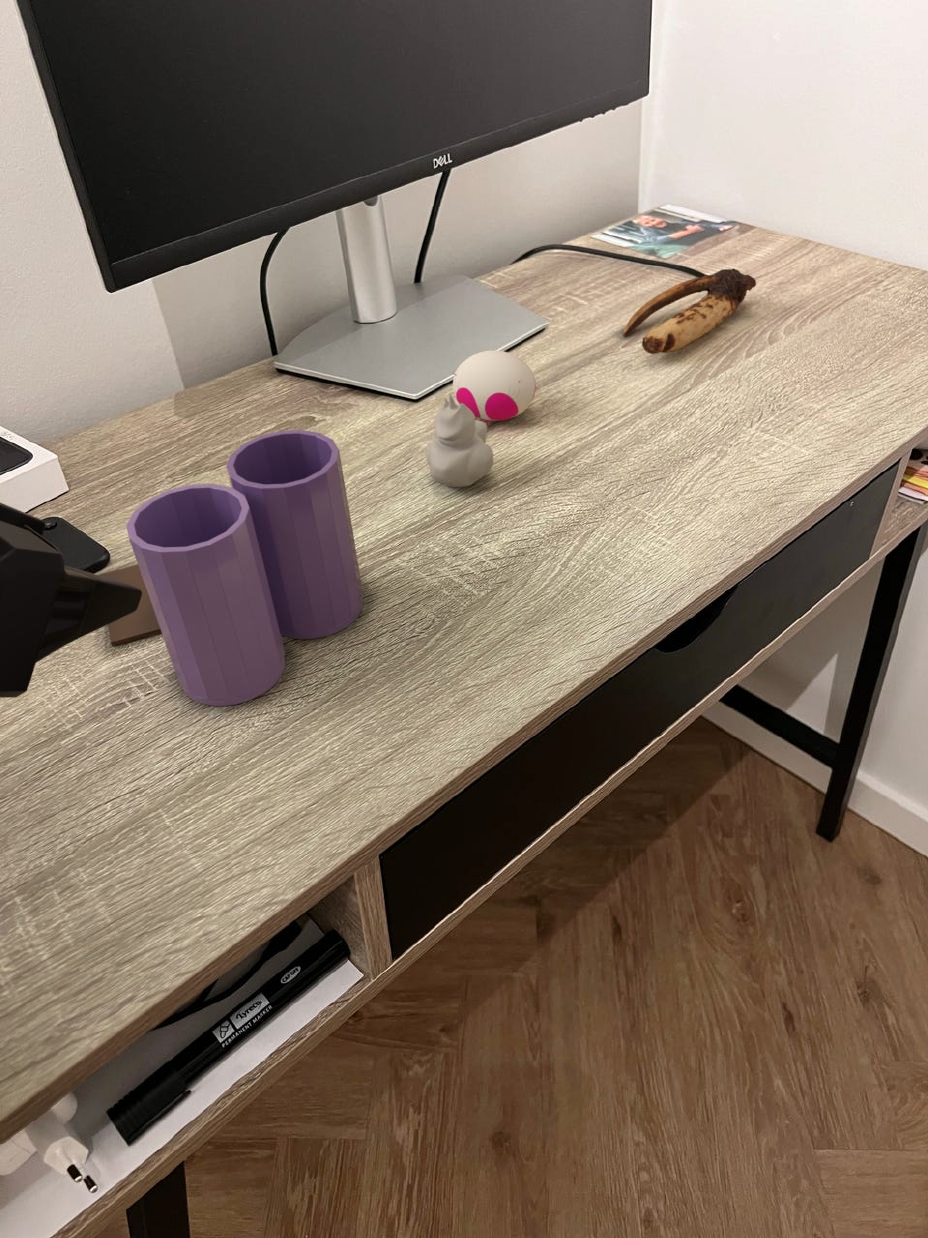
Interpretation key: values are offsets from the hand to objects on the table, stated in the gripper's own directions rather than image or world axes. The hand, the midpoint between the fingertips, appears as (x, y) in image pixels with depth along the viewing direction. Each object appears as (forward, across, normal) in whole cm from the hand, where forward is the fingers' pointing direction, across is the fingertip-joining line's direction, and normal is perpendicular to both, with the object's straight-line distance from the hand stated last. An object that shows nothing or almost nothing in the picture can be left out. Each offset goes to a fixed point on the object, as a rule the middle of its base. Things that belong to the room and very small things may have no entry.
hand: (87, 563), depth 49 cm
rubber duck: (+36, +7, -9) cm, 37 cm away
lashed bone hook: (+63, +8, -30) cm, 70 cm away
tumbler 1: (+15, +3, +7) cm, 16 cm away
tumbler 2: (+21, +4, +2) cm, 21 cm away
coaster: (+16, +13, +6) cm, 22 cm away
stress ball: (+43, +11, -14) cm, 47 cm away
